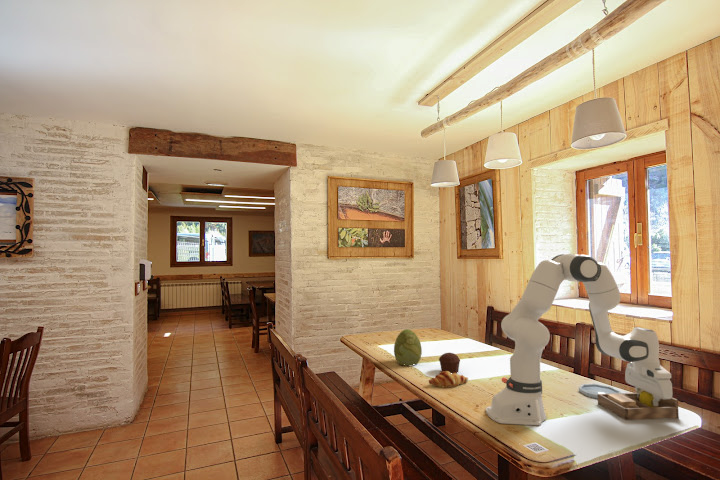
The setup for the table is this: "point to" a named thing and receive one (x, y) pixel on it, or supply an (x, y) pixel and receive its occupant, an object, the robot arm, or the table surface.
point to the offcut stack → (623, 400)
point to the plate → (596, 390)
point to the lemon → (646, 398)
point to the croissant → (448, 379)
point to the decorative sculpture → (407, 348)
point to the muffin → (449, 362)
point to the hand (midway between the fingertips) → (647, 402)
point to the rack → (641, 408)
